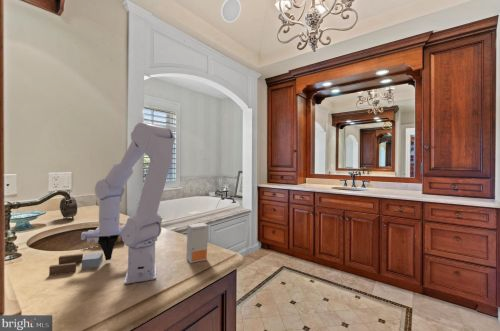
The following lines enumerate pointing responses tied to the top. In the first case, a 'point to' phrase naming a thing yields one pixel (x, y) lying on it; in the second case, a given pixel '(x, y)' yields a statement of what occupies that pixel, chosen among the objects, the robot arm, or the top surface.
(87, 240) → the supplement bottle
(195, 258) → the skincare box
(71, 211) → the alarm clock
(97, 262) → the block
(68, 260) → the channel
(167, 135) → the robot arm
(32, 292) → the top surface
